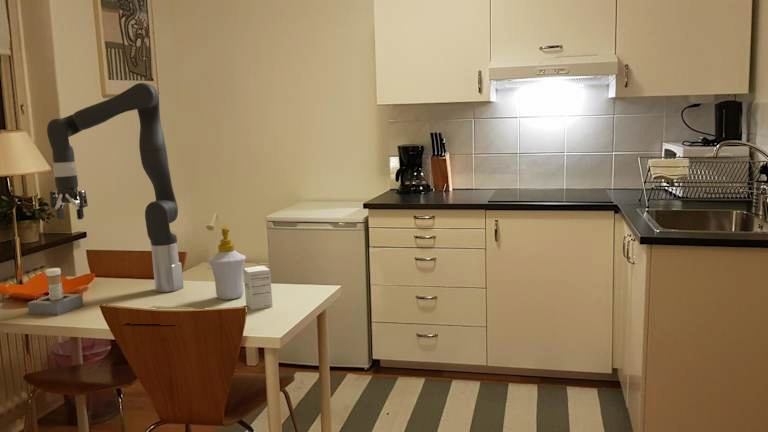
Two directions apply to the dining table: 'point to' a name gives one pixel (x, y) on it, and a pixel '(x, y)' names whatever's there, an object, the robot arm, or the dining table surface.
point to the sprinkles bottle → (54, 284)
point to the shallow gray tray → (55, 305)
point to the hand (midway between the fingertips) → (70, 219)
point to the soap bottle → (228, 269)
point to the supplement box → (258, 287)
